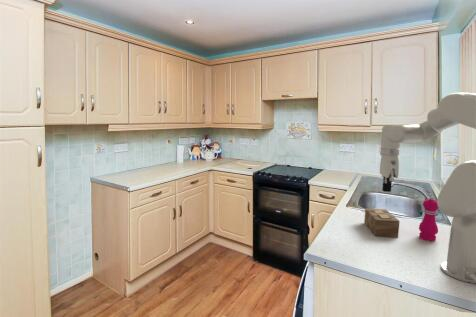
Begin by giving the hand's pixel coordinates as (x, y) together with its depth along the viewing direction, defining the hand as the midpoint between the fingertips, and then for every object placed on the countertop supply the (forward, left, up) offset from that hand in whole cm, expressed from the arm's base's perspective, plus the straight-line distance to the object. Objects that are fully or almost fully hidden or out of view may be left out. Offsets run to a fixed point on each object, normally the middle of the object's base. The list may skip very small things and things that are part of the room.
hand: (386, 191), depth 128 cm
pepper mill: (-3, -18, -21) cm, 28 cm away
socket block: (+4, 0, -21) cm, 21 cm away
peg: (0, 0, -20) cm, 20 cm away
